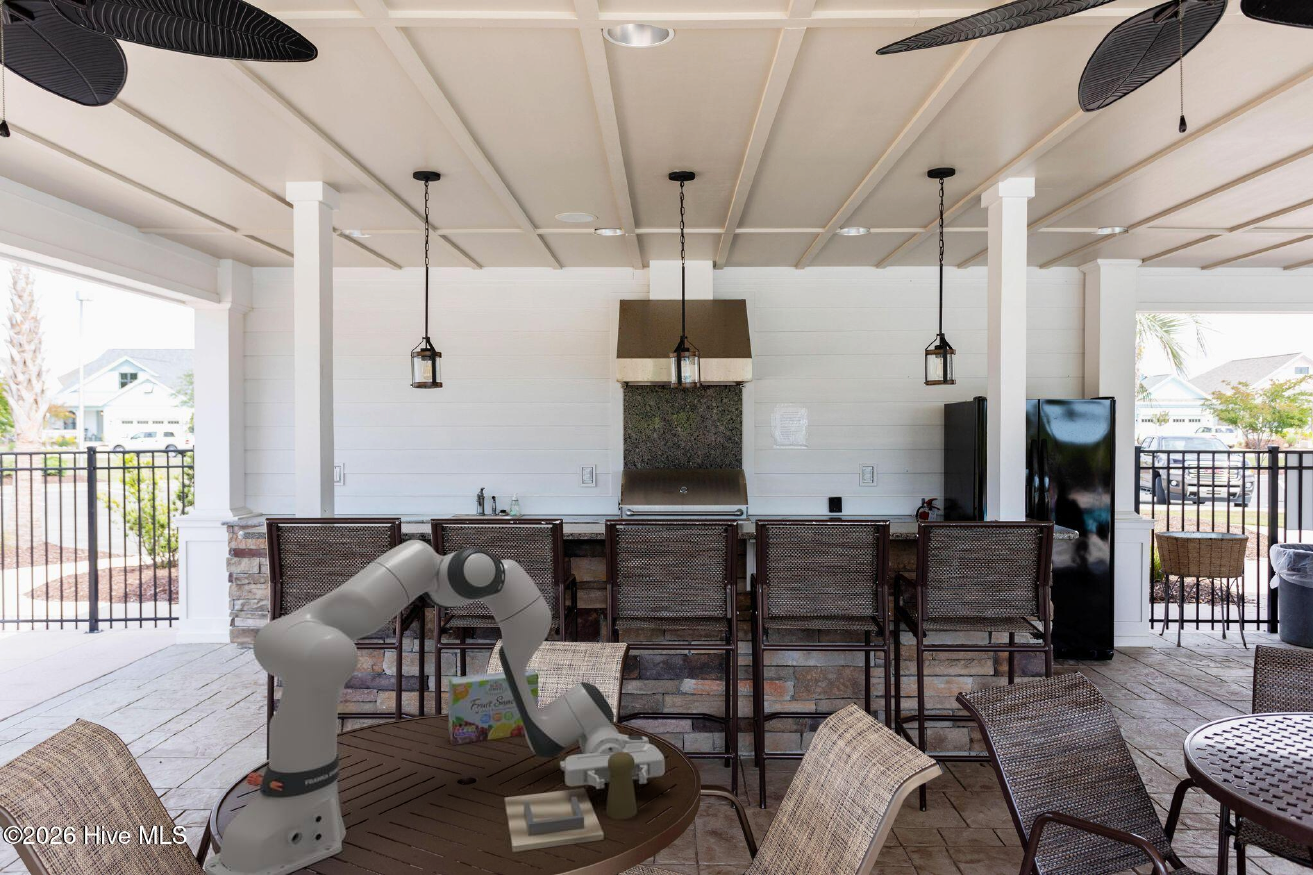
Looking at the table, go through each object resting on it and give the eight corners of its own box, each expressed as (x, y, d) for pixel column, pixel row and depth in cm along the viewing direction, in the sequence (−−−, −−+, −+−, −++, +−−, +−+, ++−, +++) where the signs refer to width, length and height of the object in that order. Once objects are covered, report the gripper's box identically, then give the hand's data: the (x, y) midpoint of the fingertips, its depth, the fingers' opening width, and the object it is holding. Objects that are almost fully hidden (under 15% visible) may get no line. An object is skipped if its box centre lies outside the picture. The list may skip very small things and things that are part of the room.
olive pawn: (638, 805, 151) (638, 748, 151) (635, 819, 145) (634, 760, 145) (608, 804, 151) (608, 748, 151) (603, 818, 145) (603, 759, 145)
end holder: (523, 813, 145) (523, 802, 145) (576, 806, 148) (576, 796, 148) (528, 835, 137) (528, 824, 137) (584, 828, 139) (584, 817, 139)
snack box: (452, 746, 183) (452, 683, 183) (448, 739, 188) (448, 677, 188) (538, 733, 192) (538, 672, 192) (532, 726, 197) (532, 666, 197)
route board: (504, 802, 152) (504, 797, 152) (584, 793, 156) (584, 788, 156) (512, 851, 133) (512, 846, 133) (603, 839, 137) (603, 833, 137)
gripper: (558, 745, 158) (568, 771, 145) (654, 735, 163) (672, 760, 150) (558, 776, 158) (568, 805, 144) (654, 765, 163) (672, 792, 150)
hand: (622, 782), depth 147 cm, fingers open, 7 cm apart
